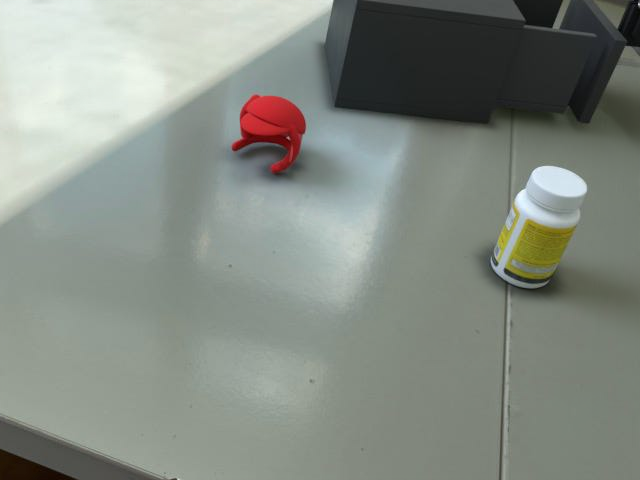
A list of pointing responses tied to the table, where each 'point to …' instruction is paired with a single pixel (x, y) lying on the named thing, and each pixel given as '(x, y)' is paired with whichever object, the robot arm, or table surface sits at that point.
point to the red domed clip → (272, 126)
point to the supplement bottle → (539, 227)
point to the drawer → (563, 59)
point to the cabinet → (422, 55)
